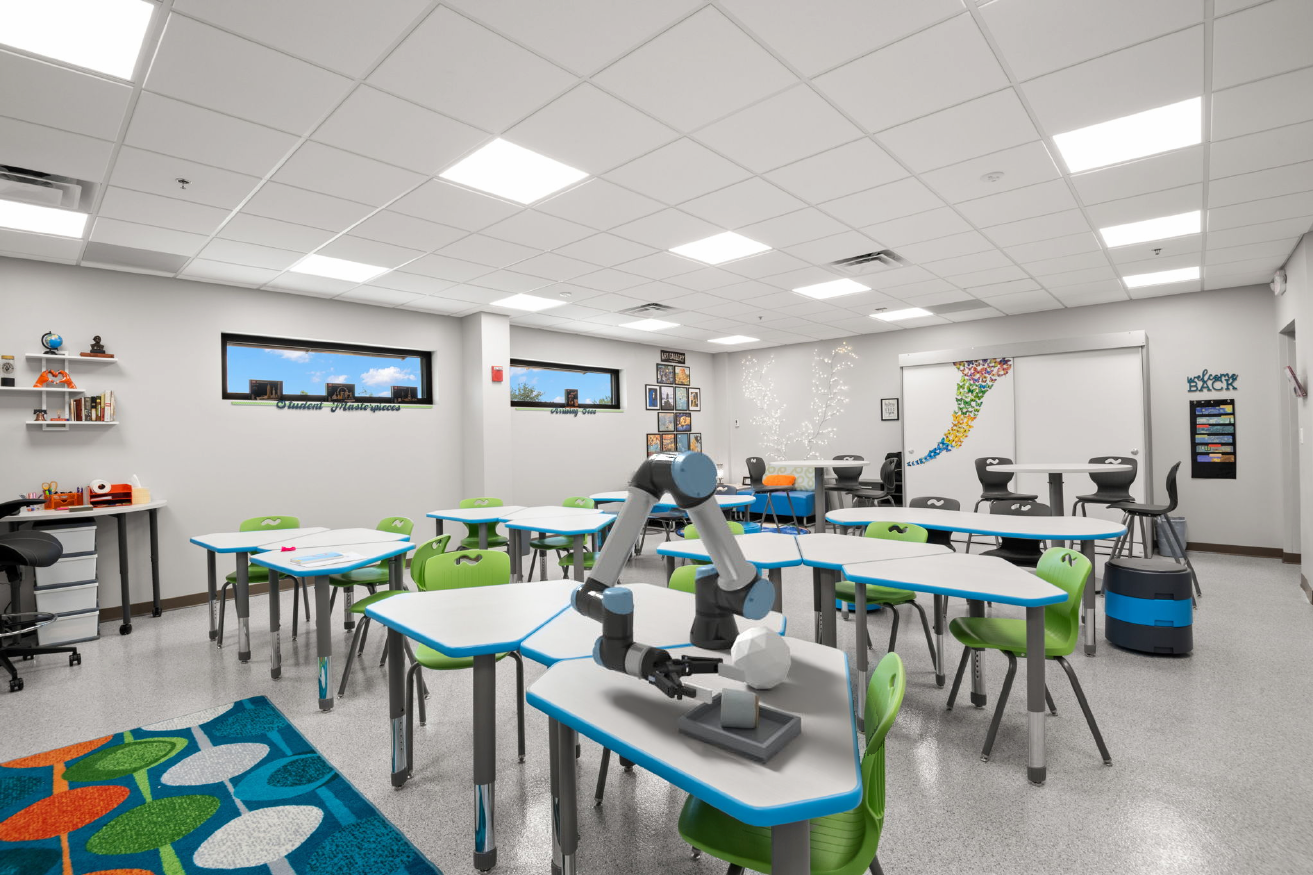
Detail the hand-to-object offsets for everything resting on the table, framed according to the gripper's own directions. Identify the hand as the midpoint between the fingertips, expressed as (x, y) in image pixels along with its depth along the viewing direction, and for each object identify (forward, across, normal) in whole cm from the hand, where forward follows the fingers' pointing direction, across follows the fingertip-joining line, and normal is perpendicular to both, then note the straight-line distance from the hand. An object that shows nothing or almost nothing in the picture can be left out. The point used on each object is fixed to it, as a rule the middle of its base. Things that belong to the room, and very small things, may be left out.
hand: (728, 685), depth 127 cm
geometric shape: (-5, -24, -9) cm, 26 cm away
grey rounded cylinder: (+1, -2, -8) cm, 8 cm away
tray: (+3, 0, -9) cm, 9 cm away
